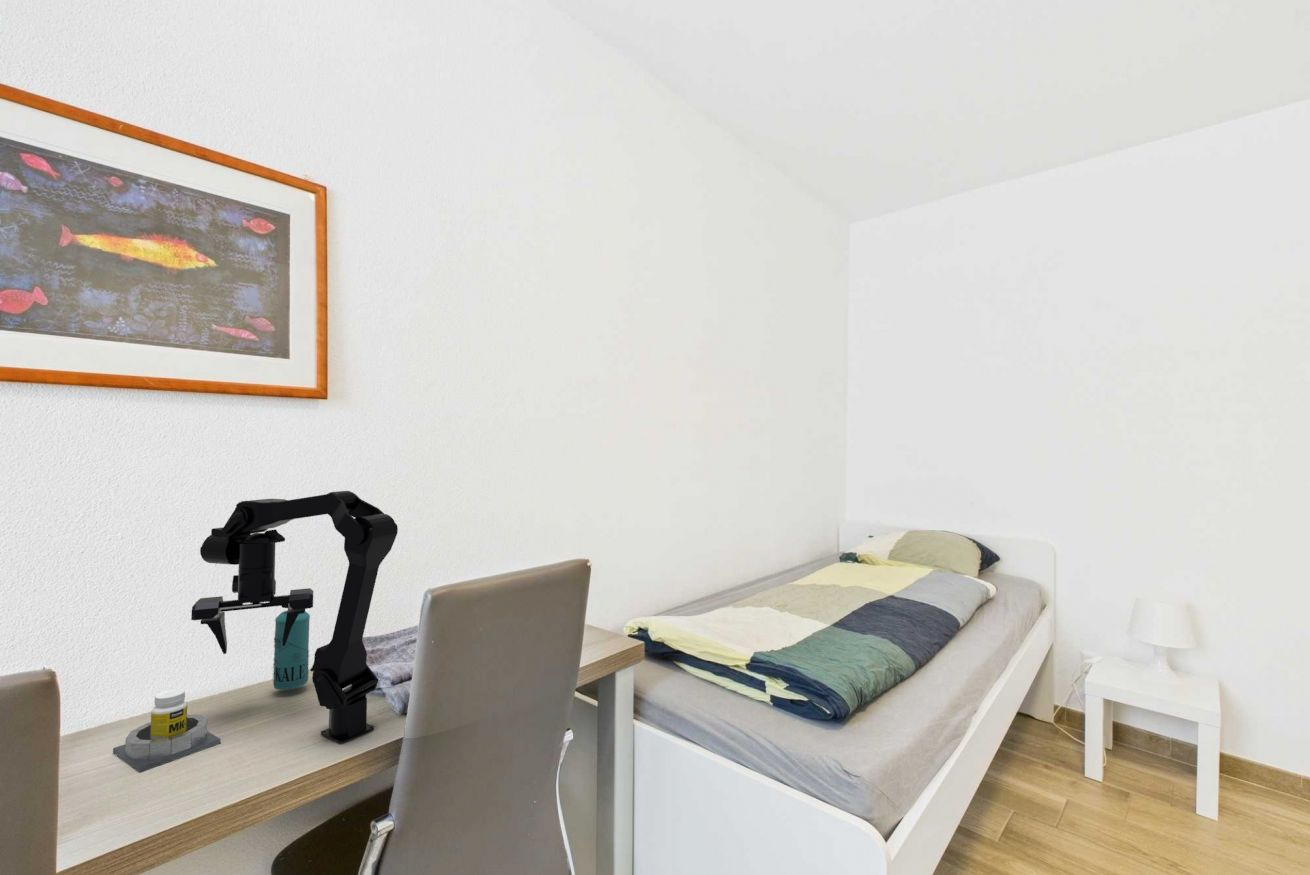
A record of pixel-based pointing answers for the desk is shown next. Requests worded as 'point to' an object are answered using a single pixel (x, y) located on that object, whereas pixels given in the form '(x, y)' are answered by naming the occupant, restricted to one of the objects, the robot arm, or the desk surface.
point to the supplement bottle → (168, 714)
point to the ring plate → (165, 744)
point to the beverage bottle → (291, 652)
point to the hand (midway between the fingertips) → (255, 649)
